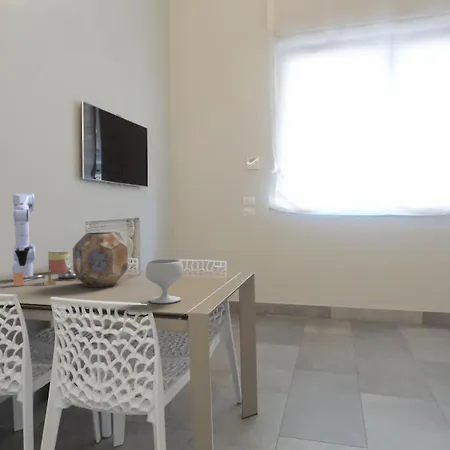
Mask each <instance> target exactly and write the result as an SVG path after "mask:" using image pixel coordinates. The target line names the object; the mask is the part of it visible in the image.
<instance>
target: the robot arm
mask: <svg viewBox="0 0 450 450" xmlns="http://www.w3.org/2000/svg"><path fill="white" fill-rule="evenodd" d="M12 203H13V209H14V210H13V213H12V216H13V225H14V237H15V239H14V242H15V243H14V247H13V261H14V263H13V264H12V268H11V269H12V270H11V271H12V275H11V276H12V278H10V280H12V281H14V273H20V272H24V277H26V276H34V261H36V255H37V254H36V253H37V252H36V246H35V245H34V243H32V242H30V215H31V213H32V212H33V211H34V210H35V193H13V194H12ZM31 280H33V279H27V280H24V282H26V281H31Z"/></svg>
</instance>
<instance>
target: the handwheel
mask: <svg viewBox="0 0 450 450" xmlns="http://www.w3.org/2000/svg"><path fill="white" fill-rule="evenodd" d="M57 278H62V279H67V278H76V275H75V273H74V272H73V266H72V267H71V266H70V268H69V270H67V273H60V274H57Z"/></svg>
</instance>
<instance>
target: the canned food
mask: <svg viewBox="0 0 450 450" xmlns="http://www.w3.org/2000/svg"><path fill="white" fill-rule="evenodd" d="M47 254H48V255H47V256H48V257H47V259H48V261H47V262H48V270H49V269H51V275H58V274H60V273H67V270H69V268H71V253H70V249H56V250H55V249H54V250H48V251H47Z"/></svg>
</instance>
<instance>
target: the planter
mask: <svg viewBox="0 0 450 450" xmlns="http://www.w3.org/2000/svg"><path fill="white" fill-rule="evenodd" d="M128 251H129V250H128V246H127V245H126V244H125V242H124V240H122V239H121V238H120V237H119V236H118V235H117V234H116V233H115V232H105V231H103V232H87V233H85V234H84V235H83V236H82V237H81V238H80V239H79V240H78V241H77V242H76V243H75V244H74V246H73V248H72V267H73V272H74V273H75V275H76V277H77V279H76V280H79V281H80V282H81V283H82V284H83V285H85V286H86V287H91V288H103V287H104V286H105V287H111V286H112V285H113V286H114V285H116V283H117V282H118V281H119V280H120V279H121V278H122V277H123V276H124V275H125V274H126V272H127V271H128V270H129V262H128V261H129V259H128Z"/></svg>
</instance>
